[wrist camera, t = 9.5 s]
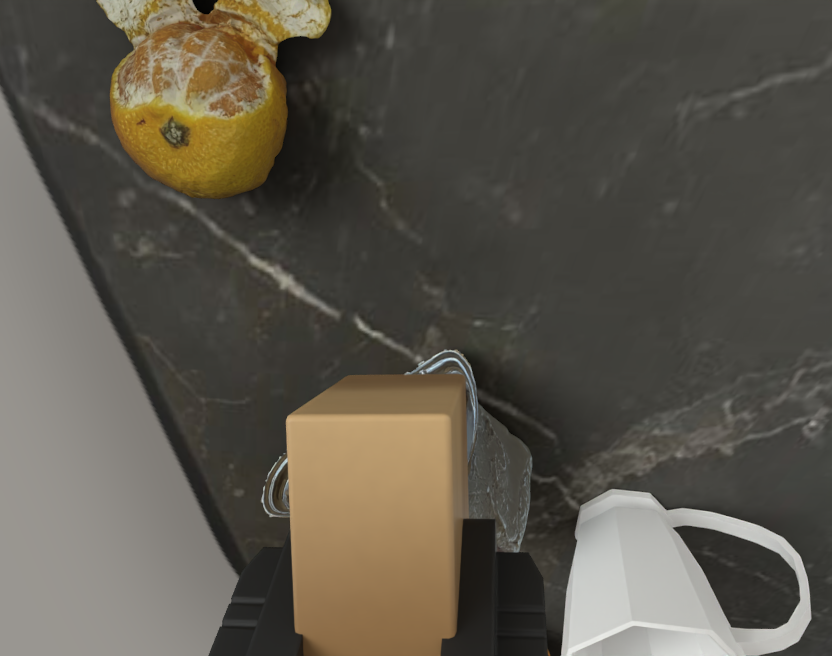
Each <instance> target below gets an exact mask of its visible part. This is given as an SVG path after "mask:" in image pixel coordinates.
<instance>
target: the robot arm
mask: <svg viewBox="0 0 832 656" xmlns="http://www.w3.org/2000/svg"><path fill="white" fill-rule="evenodd" d="M231 599H232V602H231V604H229V606H228V608H227V611H226V613H225V615H224V618H223V621H222V622H223V623H222V627H220V628H219V631H218V633H217V636H216V638H215V641H214V643H213V646H212V648H211V651H210V653H209V656H304V655H303V634H298V633H296V632H295V625H294V601H293V577H292V554H291V530H289V533H288V536H287V539H286V541H285V544H284V547H283V548H277V547H263V549H262V550H261V551H260V552H259V553H258V554H257V555H256V556H255V557H254V559H253V560H252V561H251V562H250V563H249V564H248V565H247V566H246V567H245V568H244V570H243V571H242V573H241V575H240V578H239V580H238V583H237V585H236V588H235V591H234V593H233V595H232V598H231ZM440 656H548V646H547V631H546V615H545V600H544V584H543V577H542V575H541V574H540V572H539V570H538V568H537V567H536V565H535V563H534V562H533V560H532V558H531V556H530V555H529V553H524V552H497V538H496V519H463V528H462V546H461V564H460V582H459V600H458V618H457V632H456V634H455V636H454V637H452V638H449V639H447V638H442V643H441V655H440Z"/></svg>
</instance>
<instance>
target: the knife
mask: <svg viewBox="0 0 832 656" xmlns="http://www.w3.org/2000/svg"><path fill="white" fill-rule="evenodd" d="M286 434H287V458H288V482H289V506H290V530H291V554H292V577H293V601H294V625H295V632H296V633H298V634H303V655H304V656H440V655H441V643H442V638H447V639H449V638H452V637H454V636H455V634H456V632H457V618H458V600H459V582H460V564H461V546H462V528H463V519H469V504H468V461H467V418H466V379H465V377H464V375H462V374H409V375H349V376H347V377H345V378H343V379H342V380H340V381H339V382H337V383H336V384H334V385H333V386H331V387H330V388H328V389H327V390H325V391H324V392H322V393H321V394H319V395H318V396H317V397H315V398H314V399H312V400H311V401H309V402H308V403H306V404H305V405H303V406H302V407H300V408H299V409H297V410H296V411H294V412H293V413H291V414H290V415H288V417H287V419H286Z"/></svg>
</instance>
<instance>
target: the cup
mask: <svg viewBox="0 0 832 656" xmlns="http://www.w3.org/2000/svg"><path fill="white" fill-rule="evenodd" d="M684 525H688V526H695V527H702V528H708V529H714V530H717V531H720V532H724V533H727V534H731V535H734V536H737V537H740V538H743V539H746V540H749V541H752V542H755V543H758V544H760V545H762V546H764V547H766V548H768V549H771V550H773V551H775V552H777V553H779V554H780V555H781V556H782V557H783V558H784V559H785V561H786V562H787V563H788V564H789V565H790V566H791V567H792V568H793V569H794V570H795V572H796V576H797V579H798V583H799V586H800V602H799V604H798V606H797V607H796V609H795V611H794V613H793V614H792V616H791V618H790V619H789V621H788V623H786V624H784V625H782V626H780V627H779V628H777V629H742V628H732V627H731V626H730V624H729V622H728V620H727V619H726V617H725V615H724V613H723V611H722V609H721V607H720V605H719V603H718V600H717V598H716V596H715V594H714V592H713V590H712V588H711V586H710V584H709V582H708V580H707V578H706V576H705V574H704V572H703V570H702V569H701V567H700V566H699V564H698V563H697V561H696V560H695V558H694V557H693V555H692V554H691V552H690V551H689V549H688V548H687V546H686V545H685V543H684V542H683V540H682V539H681V537H680V536H679V534H678V533H677V532H676V531H675V530H674V529H673V527H678V526H684ZM575 538H576V539H577V545H576V549H575V554H574V558H573V563H572V568H571V573H570V577H569V582H568V587H567V592H566V604H565V617H564V629H563V641H562V650H561V656H746V655H747V656H758V655H762V654H767V653H772V652H776V651H781V650H784V649H785V648H787V647H789V646H791V645H793V644H795V643H797V642H798V641H799V640H800V638H801V636H802V634H803V633H804V631H805V629H806V627H807V626H808V624H809V622H810V620H811V606H810V591H809V584H808V578H807V575H806V572H805V569H804V566H803V563H802V560H801V557H800V555H799V554H798V553H797V552H796V551H795V550H794V549H793V548H792V547H791V545H790V544H789V543H788V542H787V541H786V540H785V539H784V538H783V537H781V536H779V535H777V534H775V533H773V532H771V531H769V530H767V529H765V528H763V527H761V526H759V525H755V524H752V523H749V522H746V521H742V520H739V519H736V518H732V517H728V516H725V515H721V514H717V513H714V512H709V511H702V510H694V509H687V508H680V509H673V510H666V509H665V508H664V507H663V506H662V505H661V504H660V503H659V502H658V501H657V500H656V499H655V498H654V497H653V496H652V494H651V493H646V492H637V491H627V490H618V489H610V490H609V491H607V492H605V493H603V494H601V495H599V496H598V497H596V498H594V499H592V500H590V501H588V502H586V503H585V504H583V505H581V506H580V511H579V515H578V520H577V525H576V529H575Z"/></svg>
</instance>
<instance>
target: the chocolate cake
mask: <svg viewBox="0 0 832 656" xmlns="http://www.w3.org/2000/svg"><path fill="white" fill-rule="evenodd" d="M463 355H464V354H461V353H460V351H458V350H454V351H451V350H449V351H448V350H447V351H446V350H445V351H441V352H440V353H439V354H437V355H434V357H432V358H430V359H428V360H427V361H425V362H424V361H423V360H422V361H421V362H420V363H419V364H418V365H419V367H418V368H416V370H414V371H412V372H411V373H410V372H409V373H408V372H406V373H405V374H404V375H409V374H462V375H464V377H465V379H466V418H467V461H468V504H469V519H496V538H497V552H519V550H520V544H521V541H522V538H523V535H524V532H525V528H526V523H527V516H528V511H529V505H530V475H531V470H532V456H531V453H530V451H529V448H528V447H527V445H525V444H524V443H523V442H522V441H521V440H520V439H519V438H517V437H516V436H514V435H512V434H510V433H509V432H508V429H507V428H506V427H505V426H504V425H502V424H501V423H500V422H498V421H497V419H495V418H494V417H492V416H491V415H490V414H489V413H488V412H487V411H485V409H483V407H482V406H481V405H480V404H479V403H478V401H477V396H476V393H477V389H476V384H475V383H476V382H475V380H474V376H473V373H472V369H471V365H470V363H468V361H467V360H466V358H465V357H463ZM284 454H285V455H283V456H282V457H280V458H279V460H278V461H277V462H276V463H275V465H274V466H273V468H272V470H271V472H269V474H268V478H267V480H266V485H265V486H264V487H263V490H264V493H263V496H262V499H261V502H263V508H265V509H264V510H265V511H266V513H268V515H270V516H269V517H281V518H282V517H284V518H285V517H290V506H289V482H288V458H287V450H286V453H284Z"/></svg>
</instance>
